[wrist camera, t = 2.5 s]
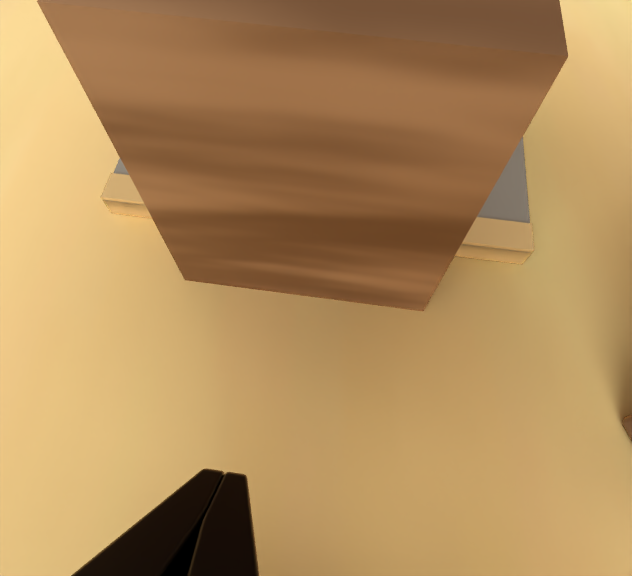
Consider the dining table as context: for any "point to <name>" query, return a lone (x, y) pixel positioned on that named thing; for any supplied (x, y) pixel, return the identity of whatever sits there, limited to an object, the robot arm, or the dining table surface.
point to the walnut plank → (314, 129)
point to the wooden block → (628, 425)
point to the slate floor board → (480, 242)
